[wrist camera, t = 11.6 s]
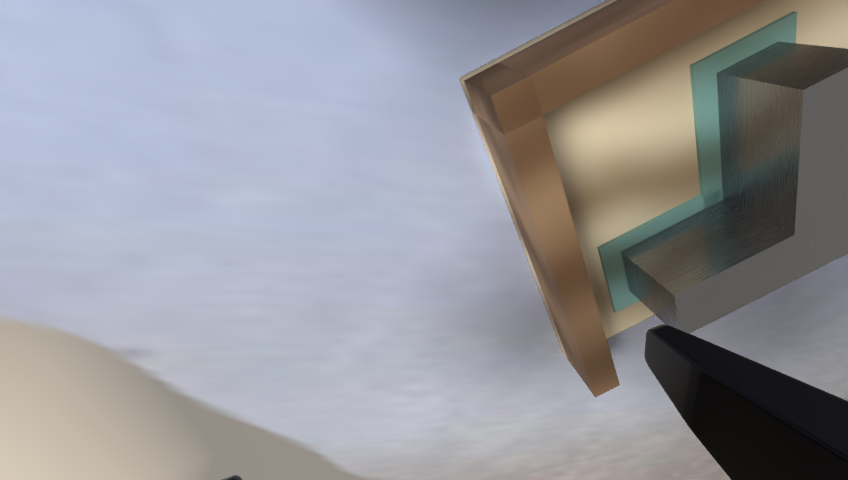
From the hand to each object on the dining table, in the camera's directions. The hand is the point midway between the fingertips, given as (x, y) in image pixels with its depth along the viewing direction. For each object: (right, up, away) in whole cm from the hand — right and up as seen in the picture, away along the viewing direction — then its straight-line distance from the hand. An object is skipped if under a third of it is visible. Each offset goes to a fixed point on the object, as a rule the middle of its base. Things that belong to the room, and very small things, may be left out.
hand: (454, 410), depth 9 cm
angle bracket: (+13, +7, +13) cm, 19 cm away
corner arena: (+12, +8, +13) cm, 20 cm away
